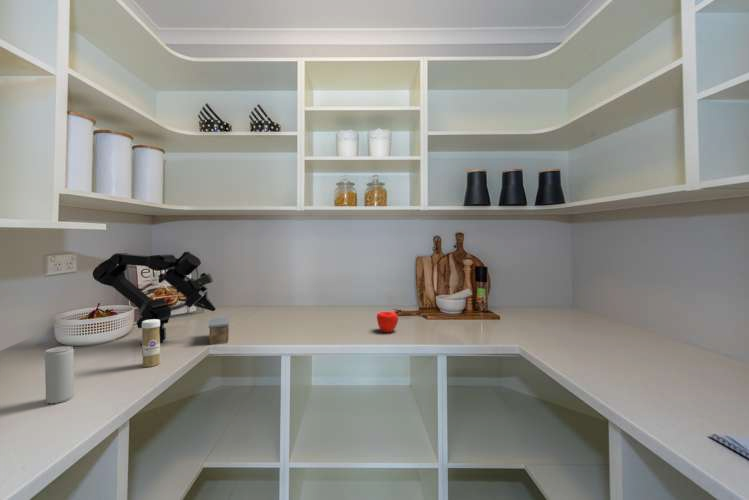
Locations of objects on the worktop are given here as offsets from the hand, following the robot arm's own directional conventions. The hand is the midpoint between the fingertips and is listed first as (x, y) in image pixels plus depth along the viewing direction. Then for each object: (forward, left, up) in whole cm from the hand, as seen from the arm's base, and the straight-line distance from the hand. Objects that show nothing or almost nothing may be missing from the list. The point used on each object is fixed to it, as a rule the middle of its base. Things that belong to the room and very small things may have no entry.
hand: (214, 310), depth 123 cm
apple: (+66, -13, -11) cm, 68 cm away
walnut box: (+2, 0, -11) cm, 11 cm away
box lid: (+2, 0, -5) cm, 5 cm away
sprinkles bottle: (-16, -21, -11) cm, 29 cm away
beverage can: (-30, -39, -11) cm, 51 cm away
